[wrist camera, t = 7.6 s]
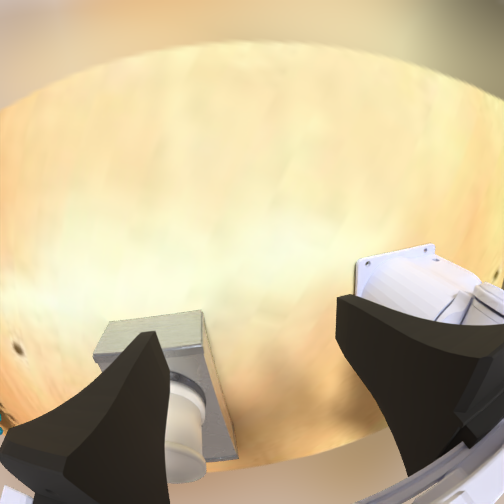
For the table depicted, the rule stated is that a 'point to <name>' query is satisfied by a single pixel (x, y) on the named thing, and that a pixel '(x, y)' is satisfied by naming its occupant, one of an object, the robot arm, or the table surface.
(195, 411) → the white cabinet knob
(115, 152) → the table surface
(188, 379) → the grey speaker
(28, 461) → the robot arm
